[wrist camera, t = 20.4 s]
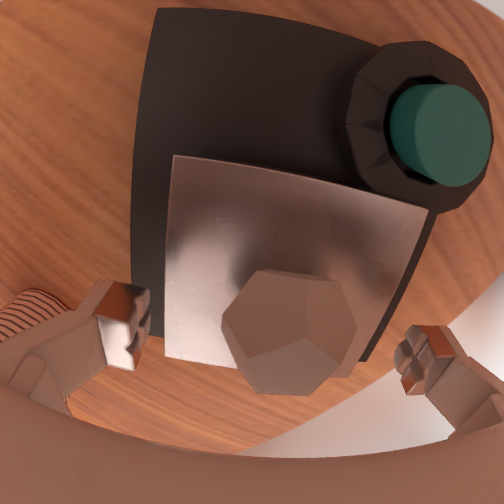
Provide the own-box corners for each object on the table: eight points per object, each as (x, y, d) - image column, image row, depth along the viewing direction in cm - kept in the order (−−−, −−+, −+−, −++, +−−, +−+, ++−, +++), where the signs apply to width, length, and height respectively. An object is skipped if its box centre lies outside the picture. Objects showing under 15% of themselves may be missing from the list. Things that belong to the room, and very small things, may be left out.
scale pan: (176, 152, 8) (173, 154, 8) (424, 205, 9) (429, 209, 8) (166, 350, 12) (164, 356, 11) (346, 371, 12) (348, 378, 12)
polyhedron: (206, 314, 10) (191, 388, 7) (255, 223, 9) (255, 287, 6) (302, 350, 11) (313, 420, 8) (362, 276, 9) (397, 344, 7)
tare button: (398, 70, 7) (426, 66, 5) (467, 105, 7) (499, 110, 6) (378, 157, 8) (402, 170, 7) (447, 183, 9) (476, 198, 7)
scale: (170, 7, 8) (144, -18, 5) (460, 86, 9) (503, 88, 6) (142, 314, 15) (124, 354, 12) (366, 344, 16) (381, 384, 13)
